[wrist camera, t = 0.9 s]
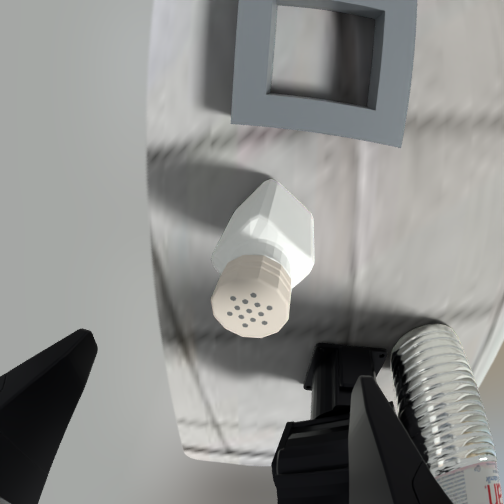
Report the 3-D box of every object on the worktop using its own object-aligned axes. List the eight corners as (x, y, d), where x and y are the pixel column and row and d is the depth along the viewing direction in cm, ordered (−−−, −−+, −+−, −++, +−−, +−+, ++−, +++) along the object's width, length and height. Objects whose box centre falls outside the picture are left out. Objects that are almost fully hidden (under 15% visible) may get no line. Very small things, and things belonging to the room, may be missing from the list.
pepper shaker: (317, 215, 20) (321, 314, 12) (274, 251, 22) (253, 357, 14) (272, 172, 19) (244, 248, 11) (230, 213, 21) (182, 305, 13)
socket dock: (389, 139, 17) (402, 149, 14) (239, 118, 18) (229, 125, 15) (404, -12, 12) (419, -25, 9) (250, -34, 13) (241, -50, 10)
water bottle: (389, 327, 24) (405, 648, 3) (462, 313, 22) (526, 604, 1) (386, 376, 27) (390, 630, 6) (450, 364, 25) (484, 604, 4)
